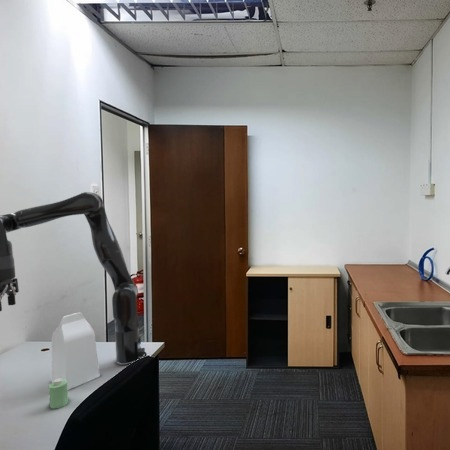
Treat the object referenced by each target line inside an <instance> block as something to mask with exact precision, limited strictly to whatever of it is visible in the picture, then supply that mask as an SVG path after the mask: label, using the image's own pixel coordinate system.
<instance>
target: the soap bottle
mask: <svg viewBox="0 0 450 450" xmlns="http://www.w3.org/2000/svg"><path fill="white" fill-rule="evenodd" d="M48 390H49V391H48V392H49V407H50V408H51V409H60V408H62V407H64V406H66V405H67V404H68V403H69V396H68V395H69V394H68V391H69V390H67V381H66V380H62V379H61V378H60V379H56V380H54V382H53V383H52V382H51V383H50V384H49V385H48Z"/></svg>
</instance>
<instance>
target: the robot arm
mask: <svg viewBox="0 0 450 450" xmlns="http://www.w3.org/2000/svg"><path fill="white" fill-rule="evenodd" d="M78 215H84V217H85V219H86V222H87V223H88V225H89V228H90V233H91V234H90V236H91V242H92V246H93V250H94V252H95V255H96V257H97V260H98V262H99V263H100V265H101V266H102V268H103V269H104V270H105V271H106V273H107V274H108V275H109V278H110V279H111V282H112V286H113V289H114V292H113V294H112V298H111V303H112V317H113V320H114V338H115V356H116V357H115V363H116V364H117V365H119V366H125V365H126V366H127V365H131V364H130V363H132V362H134V361H136V360H137V359H139V358H140V359H141V358H142V357H144V356H146V357H147V352H146V348H145V347H142V342H141V341H142V340H141V338H142V337H141V335H140V325H139V320H140V319H139V313H138V304H137V302H138V301H137V299H138V297H139V289H138V288H137V286H136V283H135V282H134V280H133V278H132V276H131V274H130V272H129V270H128V267H127V262H126V260H125V256H124V254H123V251H122V248H121V246H120V243H119V241H118V239H117V237H116V233H114V230H113V228H112V226H111V224H110V222H109V219H108V216H107V212H106V209H105V204H104V200H103V198H102V197H101V196H100V195H99V194H98V193H95V192H91V191H84V192H81V193H79V194H76V195H74V196H71V197H69V198H66V199H63V200H60V201H56V202H53V203H48V204H42V205H38V206H32V207H29V208H24V209H19V210H17V211H15V212H11V213H7V214H1V215H0V312H2V311H3V307H2V306H3V305H2V299H3V297H4V296H5V295H6V296H7V305H8V306H14V305H16V295H17V294H18V293H19V292H20V290H19V282H18V278H17V277H16V267H15V258H14V251H13V244H12V242H11V240H9V239H8V236H7V233H10V232H15V231H18V230H22V229H24V228H26V229H27V228H30V227H34V226H38V225H42V224H46V223H49V222H51V221H54V220H58V219H61V218H64V217H69V216H78ZM140 359H139V360H140ZM132 364H133V363H132Z"/></svg>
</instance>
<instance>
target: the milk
mask: <svg viewBox="0 0 450 450" xmlns="http://www.w3.org/2000/svg"><path fill="white" fill-rule="evenodd" d="M95 334H96V333H95V330H94V329H93V327H92V326H91V324H90V323H89V321H87V319H86V318H85V316H84V314H83V313H82V311H78V312H75V313H70V314H67V315H63V316H62V318H61V320H60V322H59V325H58V326H57V327H56V329H55V330H54V331H53V332H52V334H51V384H52V383H53V382H54V380H56V379H60V378H61V379H62V380H66V381H67V391H69V390H71V389H74V388H76V387H78V386H81V385H83V384H85V383H88V382H90V381H93V380H94V379H97V378H99V377H100V375H101V374H100V366H99V358H98V350H97V343H96V335H95Z"/></svg>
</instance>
